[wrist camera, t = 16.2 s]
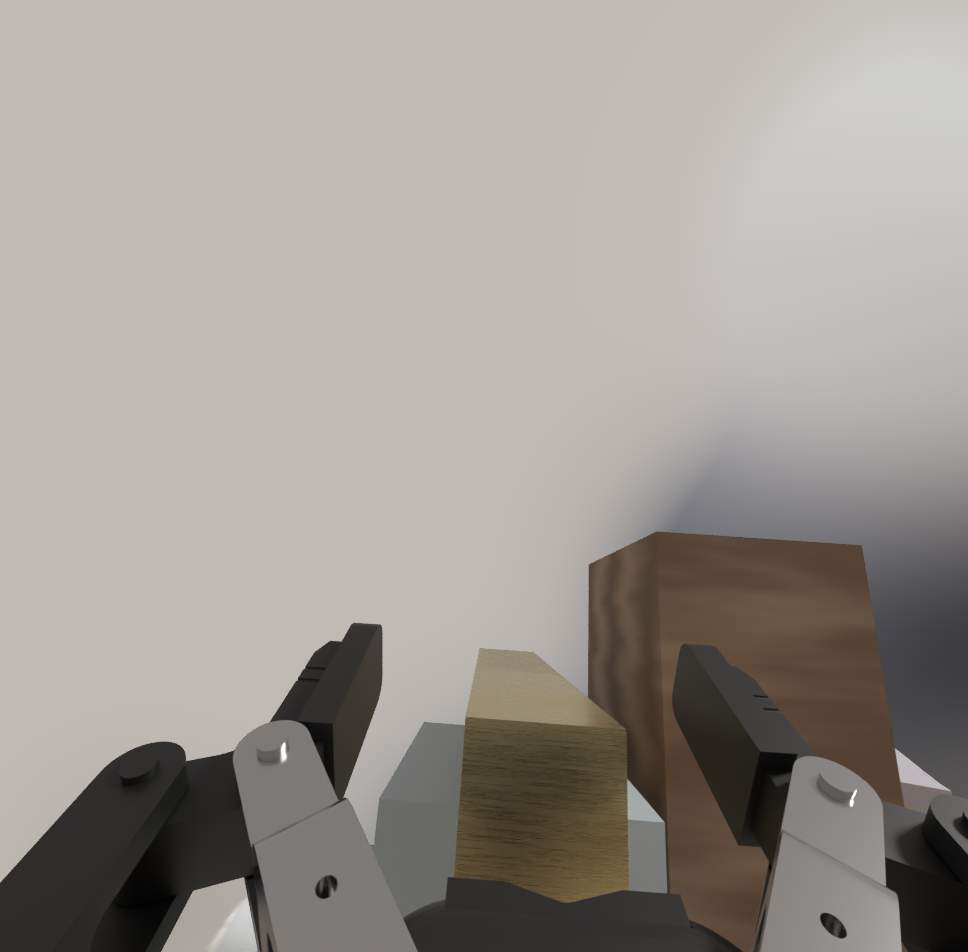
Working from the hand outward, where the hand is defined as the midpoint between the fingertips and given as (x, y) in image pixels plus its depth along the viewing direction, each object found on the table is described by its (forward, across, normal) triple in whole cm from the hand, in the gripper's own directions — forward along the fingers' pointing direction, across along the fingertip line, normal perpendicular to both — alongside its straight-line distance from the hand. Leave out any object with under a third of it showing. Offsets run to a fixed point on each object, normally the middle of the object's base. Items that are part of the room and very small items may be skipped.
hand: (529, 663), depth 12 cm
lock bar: (+7, 0, -10) cm, 13 cm away
